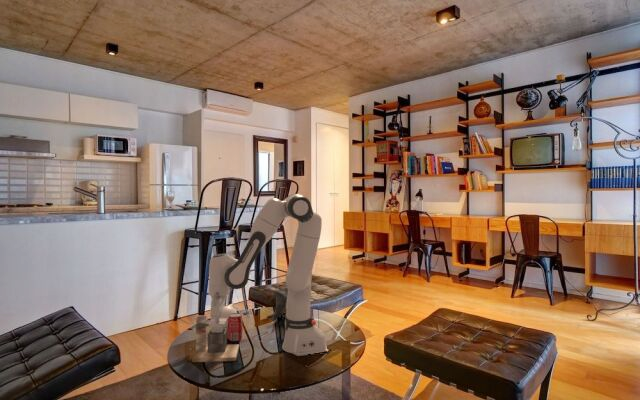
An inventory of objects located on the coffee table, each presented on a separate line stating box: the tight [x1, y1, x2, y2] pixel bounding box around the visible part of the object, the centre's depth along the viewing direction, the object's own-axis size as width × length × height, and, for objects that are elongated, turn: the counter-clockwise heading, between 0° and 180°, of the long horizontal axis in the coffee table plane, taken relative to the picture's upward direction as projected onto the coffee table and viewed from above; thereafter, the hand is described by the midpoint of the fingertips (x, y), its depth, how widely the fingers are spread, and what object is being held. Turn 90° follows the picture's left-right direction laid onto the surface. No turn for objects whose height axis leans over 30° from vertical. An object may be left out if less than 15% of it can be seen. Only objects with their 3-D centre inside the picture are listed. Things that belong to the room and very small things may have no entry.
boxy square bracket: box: [197, 318, 227, 334], centre depth 162 cm, size 12×7×10 cm, turn 97°
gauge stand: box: [191, 314, 240, 363], centre depth 161 cm, size 18×14×17 cm
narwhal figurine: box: [266, 286, 288, 321], centre depth 212 cm, size 14×15×18 cm
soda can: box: [227, 312, 244, 342], centre depth 178 cm, size 7×7×12 cm
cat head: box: [209, 303, 238, 331], centre depth 192 cm, size 15×13×12 cm
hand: (217, 320), depth 163 cm, fingers closed, pressing on boxy square bracket
